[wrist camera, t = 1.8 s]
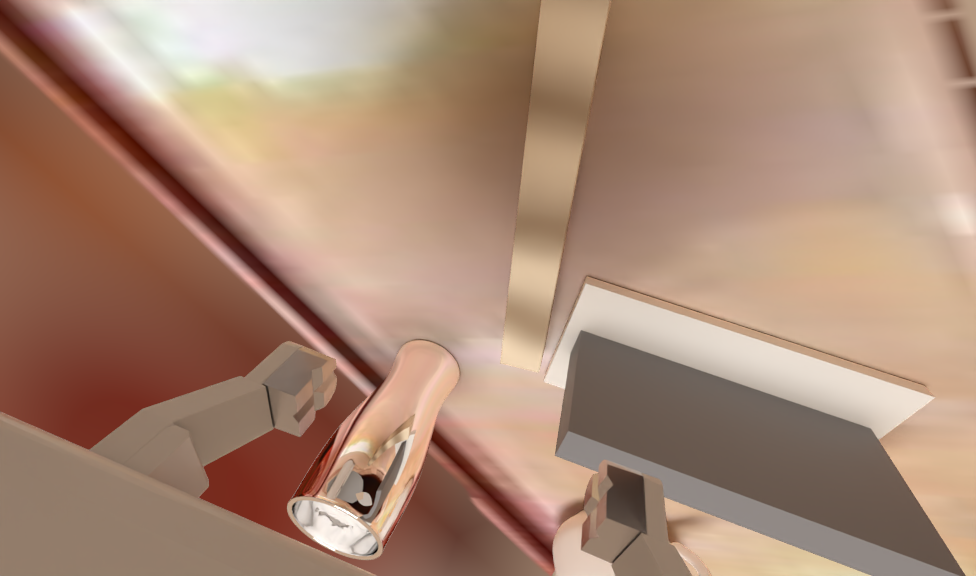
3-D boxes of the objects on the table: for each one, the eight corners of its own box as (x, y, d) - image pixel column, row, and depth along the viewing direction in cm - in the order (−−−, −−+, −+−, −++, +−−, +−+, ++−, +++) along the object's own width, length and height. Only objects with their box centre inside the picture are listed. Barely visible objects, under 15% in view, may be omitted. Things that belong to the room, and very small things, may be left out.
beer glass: (430, 324, 34) (324, 487, 22) (480, 380, 36) (408, 558, 23) (380, 351, 37) (264, 504, 25) (427, 400, 39) (341, 565, 27)
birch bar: (555, -33, 19) (545, -43, 17) (617, -30, 19) (617, -40, 16) (508, 338, 33) (500, 363, 30) (544, 347, 32) (538, 372, 30)
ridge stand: (586, 275, 27) (573, 377, 19) (924, 385, 25) (1072, 554, 17) (545, 373, 33) (521, 483, 25) (817, 469, 31) (888, 626, 23)
